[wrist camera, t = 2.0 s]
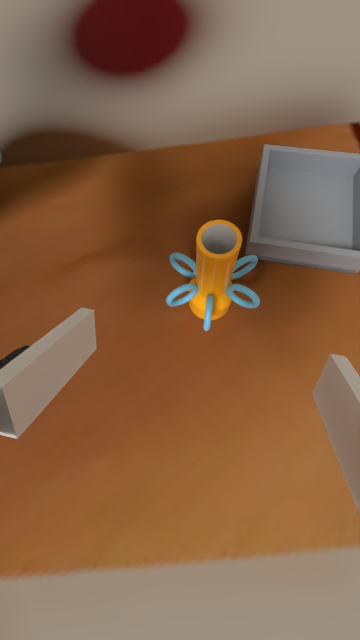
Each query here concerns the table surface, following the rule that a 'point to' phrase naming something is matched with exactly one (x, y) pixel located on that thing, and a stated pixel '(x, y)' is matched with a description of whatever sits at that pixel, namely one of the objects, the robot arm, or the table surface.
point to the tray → (306, 209)
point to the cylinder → (214, 273)
